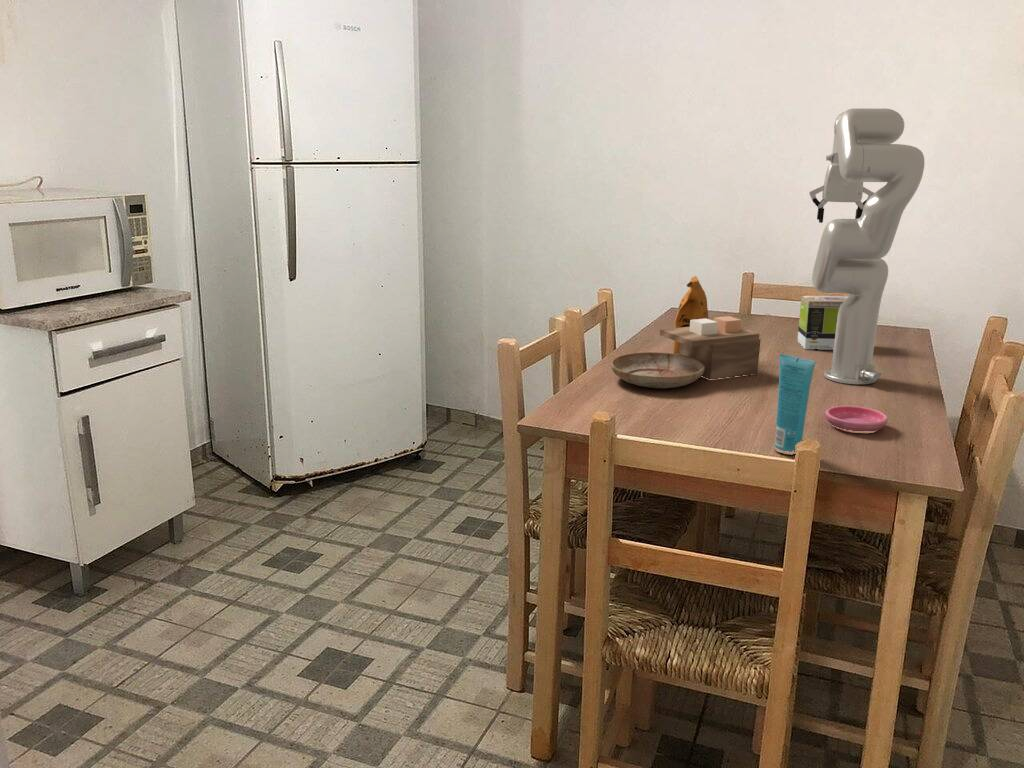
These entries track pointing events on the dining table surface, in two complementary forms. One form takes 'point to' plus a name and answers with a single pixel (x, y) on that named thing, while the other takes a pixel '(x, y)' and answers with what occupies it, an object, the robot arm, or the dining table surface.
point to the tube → (792, 400)
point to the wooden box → (719, 351)
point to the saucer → (856, 418)
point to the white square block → (703, 326)
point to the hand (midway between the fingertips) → (838, 222)
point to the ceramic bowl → (657, 369)
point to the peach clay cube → (728, 324)
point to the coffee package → (691, 308)
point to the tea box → (818, 321)
